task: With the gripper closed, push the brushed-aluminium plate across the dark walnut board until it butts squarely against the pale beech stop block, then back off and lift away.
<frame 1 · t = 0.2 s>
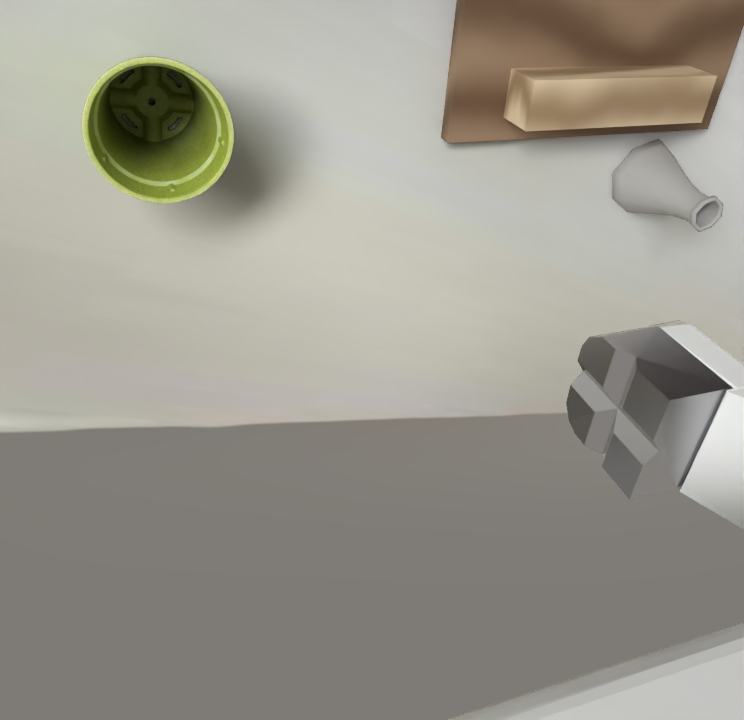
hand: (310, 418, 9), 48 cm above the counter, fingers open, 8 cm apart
flask: (639, 174, 69), on the counter
plant pot: (152, 98, 50), on the counter
beech stop: (597, 90, 59), resting on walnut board
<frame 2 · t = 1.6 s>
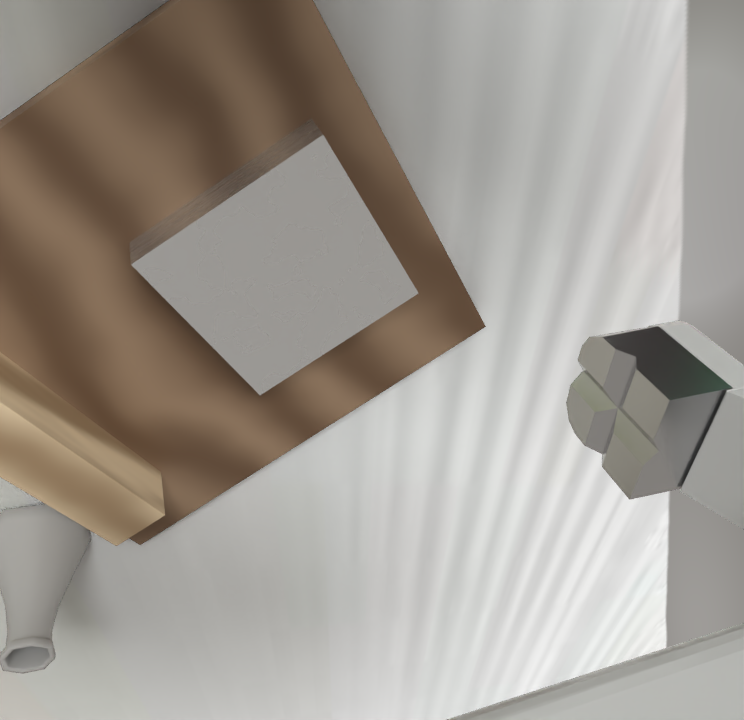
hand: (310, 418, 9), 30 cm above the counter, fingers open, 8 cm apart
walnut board: (188, 304, 42), on the counter
flask: (39, 532, 49), on the counter
beech stop: (39, 417, 41), resting on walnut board
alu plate: (279, 259, 40), point 1 cm above the counter, touching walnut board
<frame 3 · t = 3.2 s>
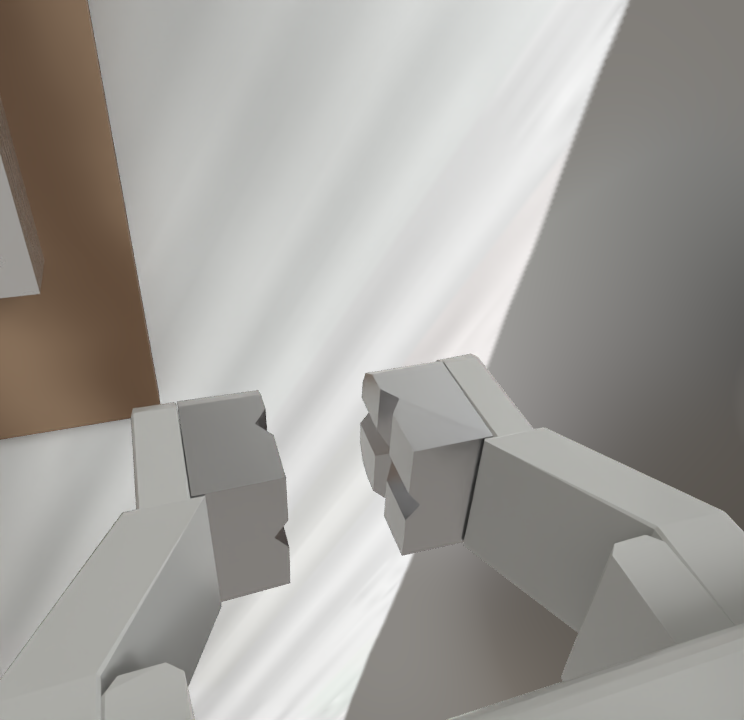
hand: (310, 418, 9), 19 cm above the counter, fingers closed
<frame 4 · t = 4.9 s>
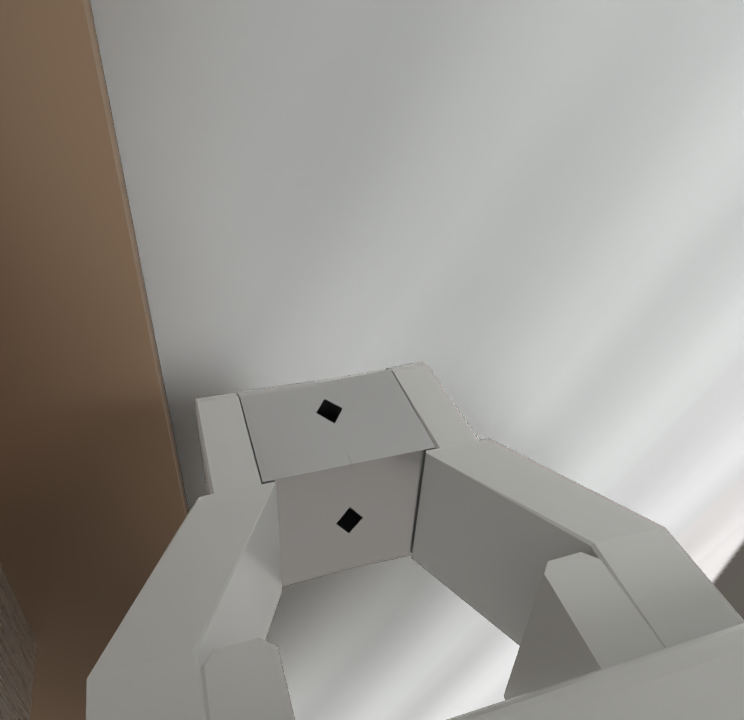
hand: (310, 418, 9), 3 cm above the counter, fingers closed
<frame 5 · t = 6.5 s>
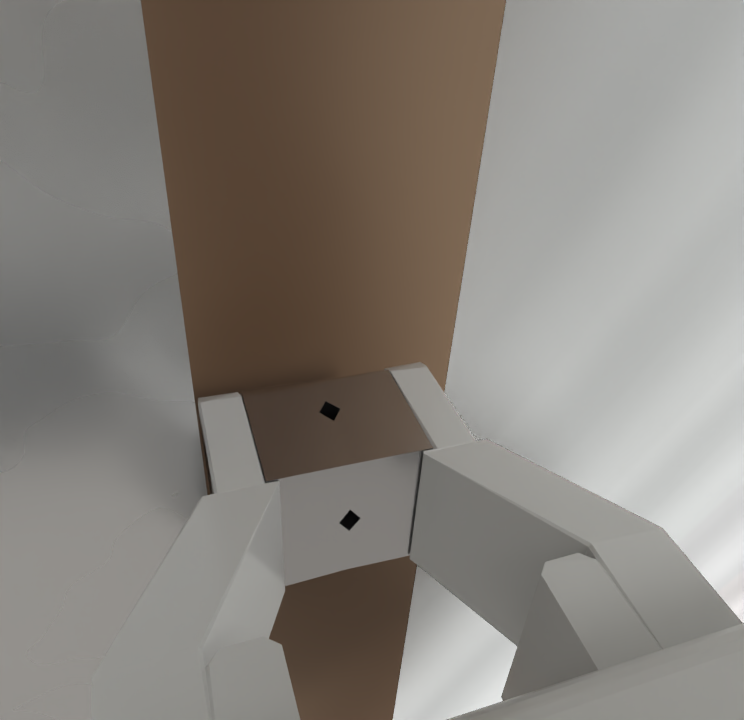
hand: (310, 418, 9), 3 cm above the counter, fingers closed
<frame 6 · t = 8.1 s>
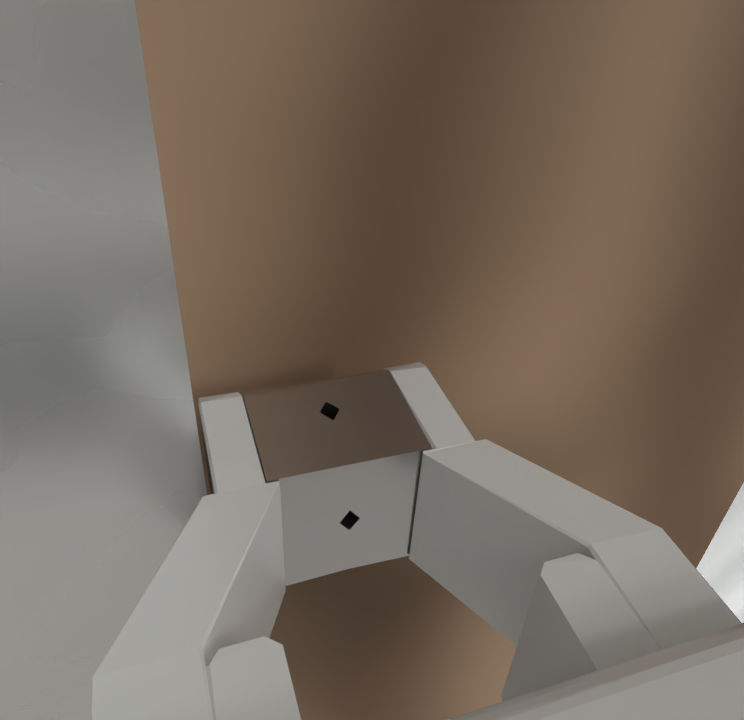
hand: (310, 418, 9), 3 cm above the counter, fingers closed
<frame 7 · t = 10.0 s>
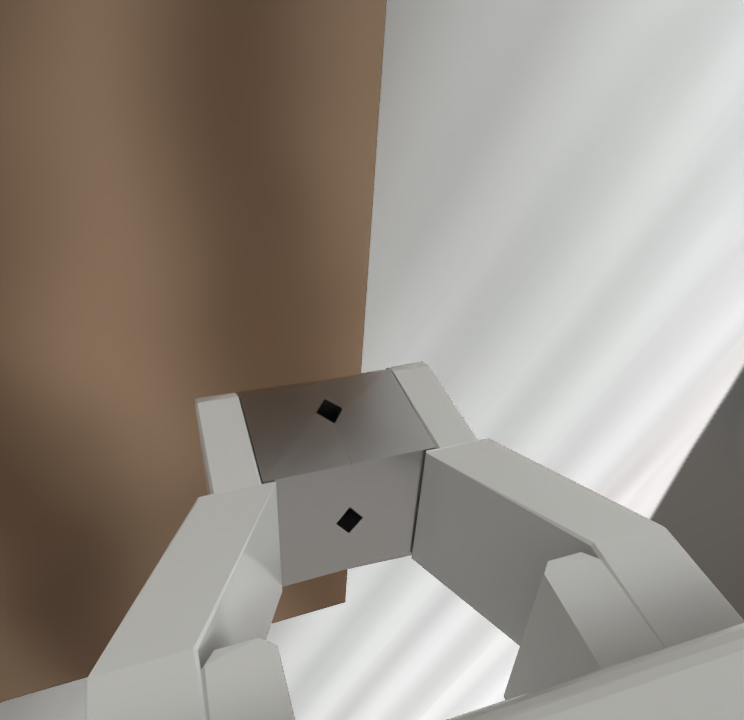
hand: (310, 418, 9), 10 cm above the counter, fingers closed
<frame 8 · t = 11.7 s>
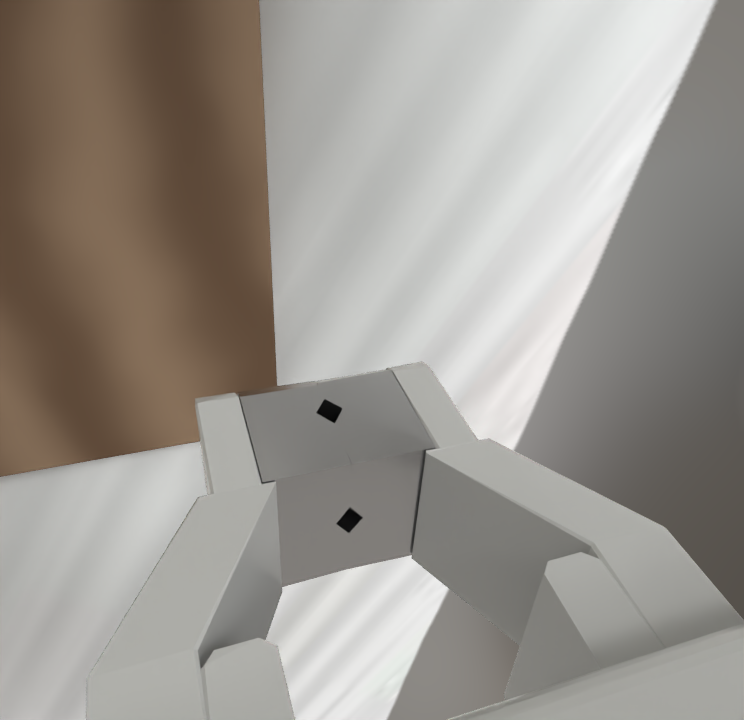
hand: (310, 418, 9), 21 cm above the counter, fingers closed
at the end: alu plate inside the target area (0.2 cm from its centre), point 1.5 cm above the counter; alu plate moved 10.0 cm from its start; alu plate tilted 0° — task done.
